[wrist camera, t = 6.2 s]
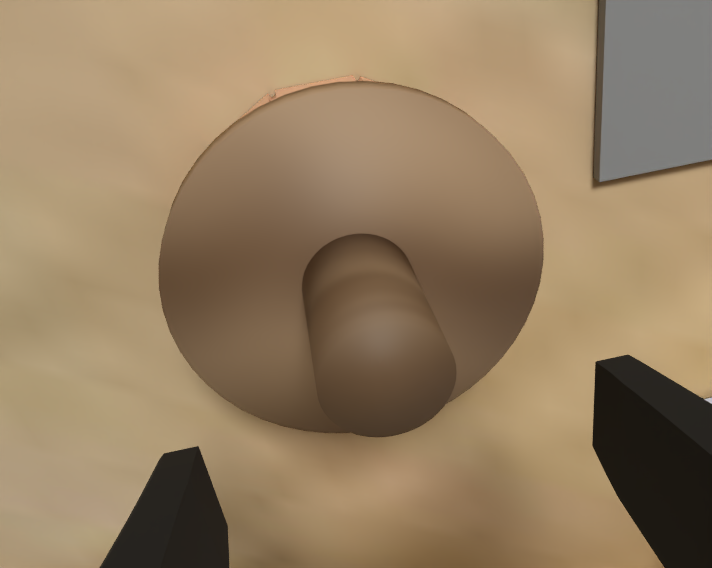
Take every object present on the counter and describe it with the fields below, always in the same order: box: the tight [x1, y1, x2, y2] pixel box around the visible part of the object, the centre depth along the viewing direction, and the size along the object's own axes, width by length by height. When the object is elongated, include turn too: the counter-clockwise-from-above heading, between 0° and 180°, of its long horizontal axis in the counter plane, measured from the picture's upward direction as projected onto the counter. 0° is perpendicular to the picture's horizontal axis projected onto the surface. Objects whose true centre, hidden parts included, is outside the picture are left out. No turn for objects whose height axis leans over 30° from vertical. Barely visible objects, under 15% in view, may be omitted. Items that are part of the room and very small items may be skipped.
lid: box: [159, 81, 544, 437], centre depth 15 cm, size 10×10×5 cm
